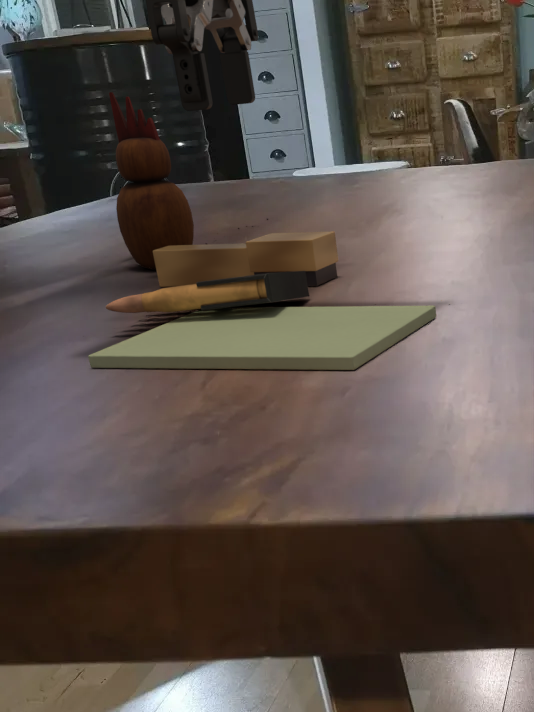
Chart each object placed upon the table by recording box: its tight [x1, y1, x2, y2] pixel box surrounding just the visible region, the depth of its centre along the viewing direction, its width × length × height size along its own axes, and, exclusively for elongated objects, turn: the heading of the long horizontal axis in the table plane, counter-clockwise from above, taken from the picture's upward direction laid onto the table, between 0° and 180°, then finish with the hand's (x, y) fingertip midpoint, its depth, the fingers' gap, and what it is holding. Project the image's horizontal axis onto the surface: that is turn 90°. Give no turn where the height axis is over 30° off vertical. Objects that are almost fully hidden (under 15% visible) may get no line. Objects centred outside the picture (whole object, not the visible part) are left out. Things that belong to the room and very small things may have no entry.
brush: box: [153, 230, 339, 288], centre depth 92 cm, size 16×4×4 cm, turn 72°
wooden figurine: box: [108, 91, 195, 271], centre depth 101 cm, size 7×6×15 cm
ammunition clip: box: [105, 271, 310, 314], centre depth 79 cm, size 11×2×12 cm
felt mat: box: [87, 305, 437, 371], centre depth 71 cm, size 18×14×1 cm
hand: (221, 106), depth 87 cm, fingers open, 8 cm apart
